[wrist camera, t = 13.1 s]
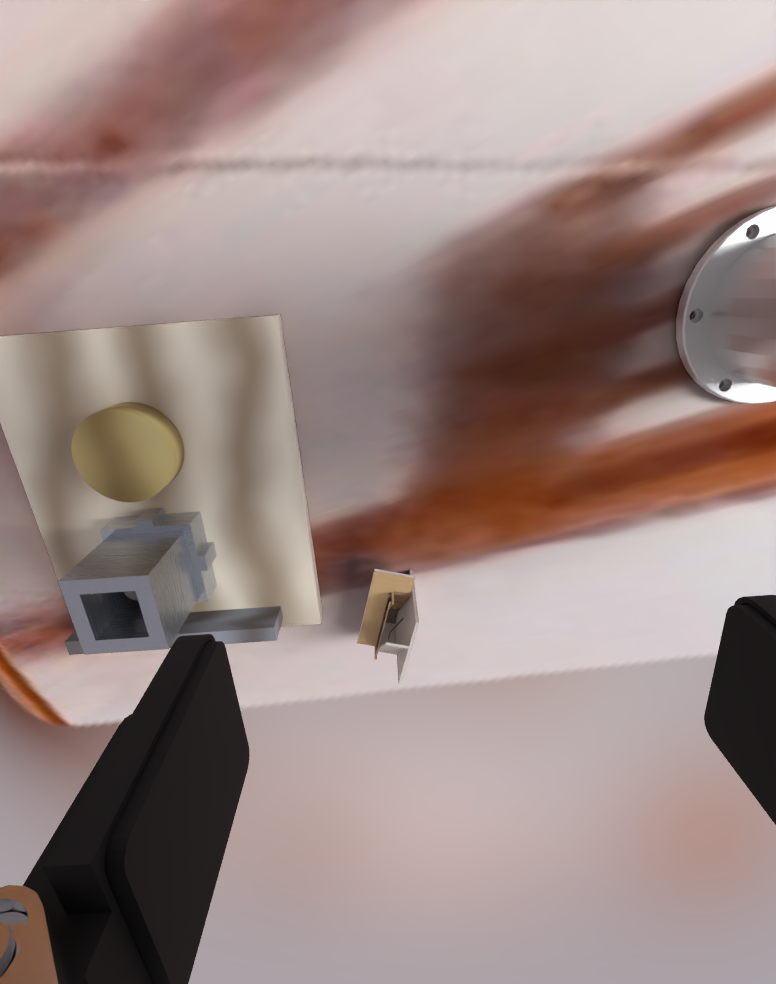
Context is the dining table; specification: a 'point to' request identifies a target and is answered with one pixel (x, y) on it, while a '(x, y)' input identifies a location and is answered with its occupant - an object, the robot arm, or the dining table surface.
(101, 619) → the keystone jack insert
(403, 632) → the architectural model
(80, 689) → the dining table surface
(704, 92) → the dining table surface
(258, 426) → the board
